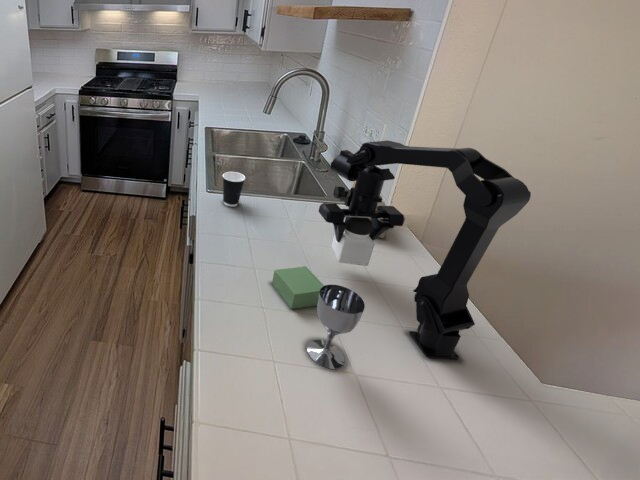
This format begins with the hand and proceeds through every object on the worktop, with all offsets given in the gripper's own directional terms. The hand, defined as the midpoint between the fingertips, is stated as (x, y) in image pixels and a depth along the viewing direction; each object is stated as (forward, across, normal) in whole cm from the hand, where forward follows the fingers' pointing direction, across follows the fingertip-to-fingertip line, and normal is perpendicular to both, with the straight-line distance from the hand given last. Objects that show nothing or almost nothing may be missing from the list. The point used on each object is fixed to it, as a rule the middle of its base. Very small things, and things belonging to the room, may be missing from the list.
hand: (352, 241), depth 101 cm
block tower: (+10, -20, -31) cm, 38 cm away
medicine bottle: (+5, 0, 0) cm, 5 cm away
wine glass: (+10, +16, +28) cm, 34 cm away
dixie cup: (+10, +25, -36) cm, 45 cm away
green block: (+10, +16, +10) cm, 21 cm away
